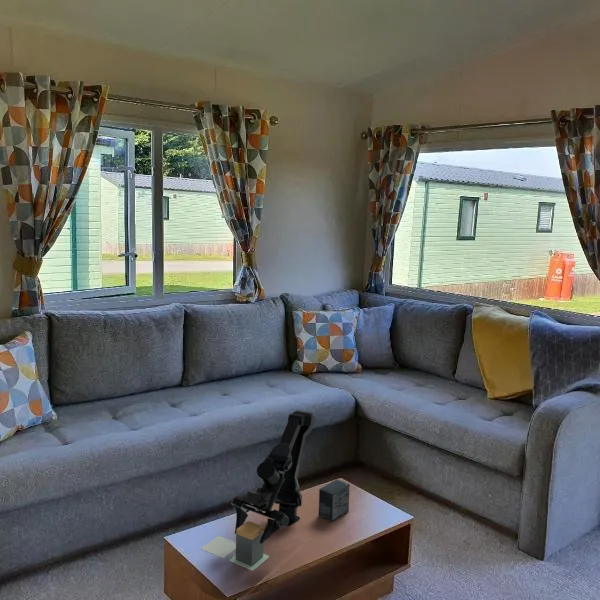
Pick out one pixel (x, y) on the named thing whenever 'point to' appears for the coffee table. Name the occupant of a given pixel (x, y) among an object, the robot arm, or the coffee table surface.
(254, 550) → the base
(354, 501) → the coffee table surface
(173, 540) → the coffee table surface
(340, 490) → the small box
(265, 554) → the stand
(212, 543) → the stand
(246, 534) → the cover
